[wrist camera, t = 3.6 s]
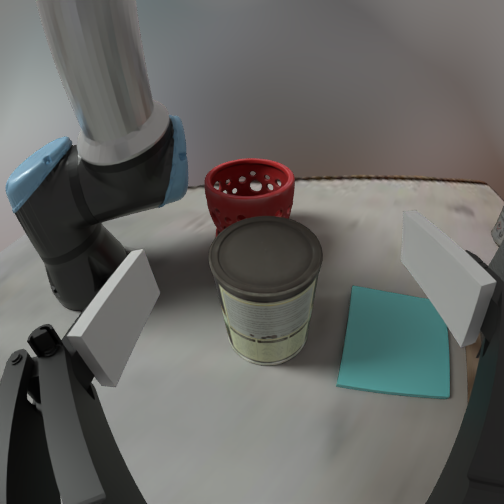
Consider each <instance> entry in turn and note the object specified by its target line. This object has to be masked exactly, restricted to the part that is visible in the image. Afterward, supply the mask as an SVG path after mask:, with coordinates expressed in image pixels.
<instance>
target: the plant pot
mask: <svg viewBox="0 0 504 504" xmlns="http://www.w3.org/2000/svg"><path fill="white" fill-rule="evenodd" d="M251 171H254V172H256V174H255V175H254V176H252V175H251V174H250V172H251ZM265 175H268V176H269V177H270V179H266V178H265ZM241 176H243V177H246V180H245V181H244V182H239V178H240V177H241ZM228 179H229V180H230V183H229V184H227V185H226V180H228ZM278 179H279V180H280V181H281V186H279V185H278V183H277V180H278ZM217 181H218V182H219V184H220V185H219V190H217V189H215V188H214V184H215V182H217ZM252 181H259V182H260V183H261V184H262V188H261V190H260V191H254V190H252V189H251V187H250V183H251V182H252ZM268 184H272V185H273V190H270V189H269V188H268ZM294 186H295V177H294V174H293V173H292V171H291V170H290V169H289V168H287V167H286V166H284V165H283V164H280V163H278V162H274V161H271V160H266V159H255V158H252V159H251V158H250V159H249V158H248V159H238V160H233V161H229V162H226V163H223V164H221V165H218V166H217V167H215V168H213V169H212V170H211V171H210V172H209V173H208V174H207V175H206V178H205V194H206V199H207V205H208V209H209V212H210V215H211V217H212V220H213V222H214V224H215V226H216V227H217V229H216V237H217V236H218V234H219V233H220V232H222V231H223V230H224V229H225V228H227V227H228V226H230V225H232V224H234V223H236V222H238V221H240V220H243V219H247V218H251V217H257V216H277V217H283V218H288V219H289V216H290V213H291V208H292V205H293V196H294ZM234 188H236V189H237V192H236V193H232V190H233V189H234ZM224 190H226V191H227V194H226V193H223V191H224Z"/></svg>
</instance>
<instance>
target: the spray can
mask: <svg viewBox="0 0 504 504" xmlns="http://www.w3.org/2000/svg"><path fill="white" fill-rule="evenodd" d="M491 232H492V236H493V238H494V241H495V242H496V244H497V245H498V246H499V247H500V245H501V243H502V241H503V239H504V206H503V209H502V211H501V213H500V216H499V218H498V220H497V223H496V225H495V226H494V228H493V230H492V231H491Z"/></svg>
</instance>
